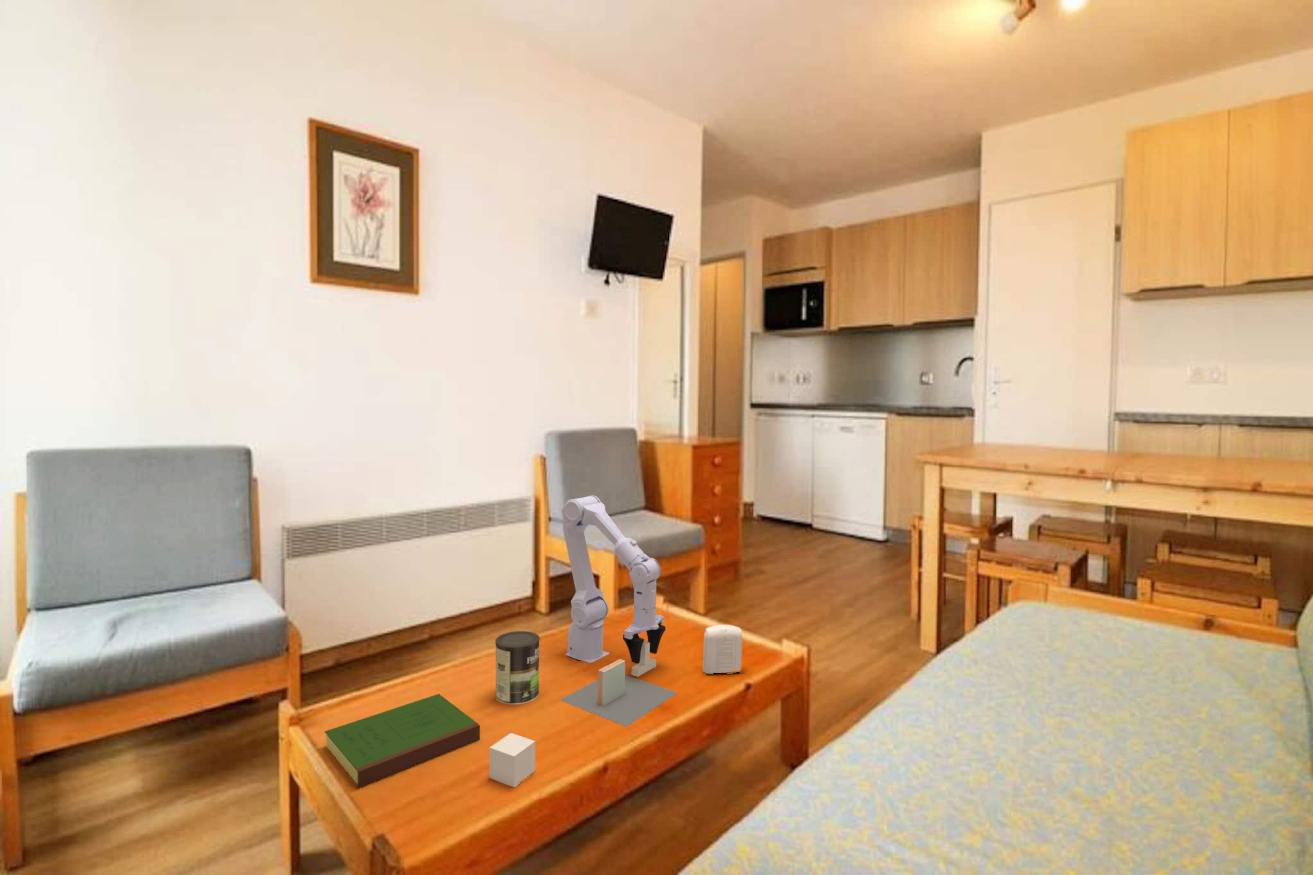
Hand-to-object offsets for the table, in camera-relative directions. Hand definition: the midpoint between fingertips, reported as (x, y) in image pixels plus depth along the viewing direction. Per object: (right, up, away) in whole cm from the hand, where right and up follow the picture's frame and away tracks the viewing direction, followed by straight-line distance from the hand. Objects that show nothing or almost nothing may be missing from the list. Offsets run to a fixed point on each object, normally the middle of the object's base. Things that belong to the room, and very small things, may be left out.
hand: (644, 657), depth 166 cm
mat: (-6, -5, -14) cm, 16 cm away
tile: (-8, -4, -15) cm, 18 cm away
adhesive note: (-24, -7, -45) cm, 52 cm away
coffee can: (-30, -5, -14) cm, 33 cm away
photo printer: (+20, -4, +2) cm, 21 cm away
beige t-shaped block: (0, -4, 0) cm, 4 cm away
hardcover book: (-49, -6, -35) cm, 60 cm away
